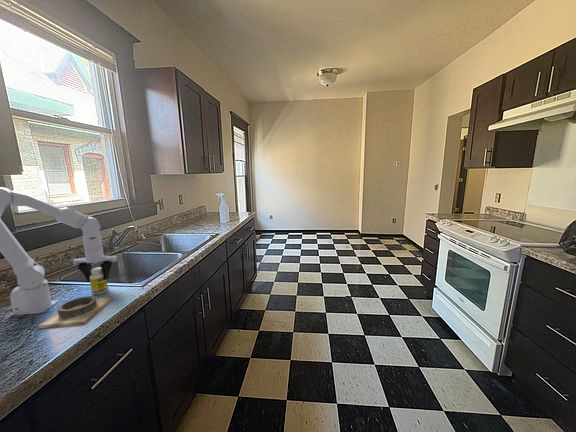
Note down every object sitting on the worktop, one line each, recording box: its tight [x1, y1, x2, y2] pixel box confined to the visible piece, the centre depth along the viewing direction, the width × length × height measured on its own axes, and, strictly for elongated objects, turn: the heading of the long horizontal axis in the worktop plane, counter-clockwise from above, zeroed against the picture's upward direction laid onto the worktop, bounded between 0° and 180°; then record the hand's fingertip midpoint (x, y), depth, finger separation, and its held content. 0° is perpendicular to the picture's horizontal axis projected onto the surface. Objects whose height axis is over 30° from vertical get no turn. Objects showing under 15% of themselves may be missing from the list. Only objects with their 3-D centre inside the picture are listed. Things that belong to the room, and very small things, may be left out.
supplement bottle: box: [89, 266, 109, 295], centre depth 100 cm, size 5×5×10 cm
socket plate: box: [37, 295, 113, 329], centre depth 85 cm, size 13×16×4 cm
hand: (98, 279), depth 100 cm, fingers closed on supplement bottle, 5 cm apart
